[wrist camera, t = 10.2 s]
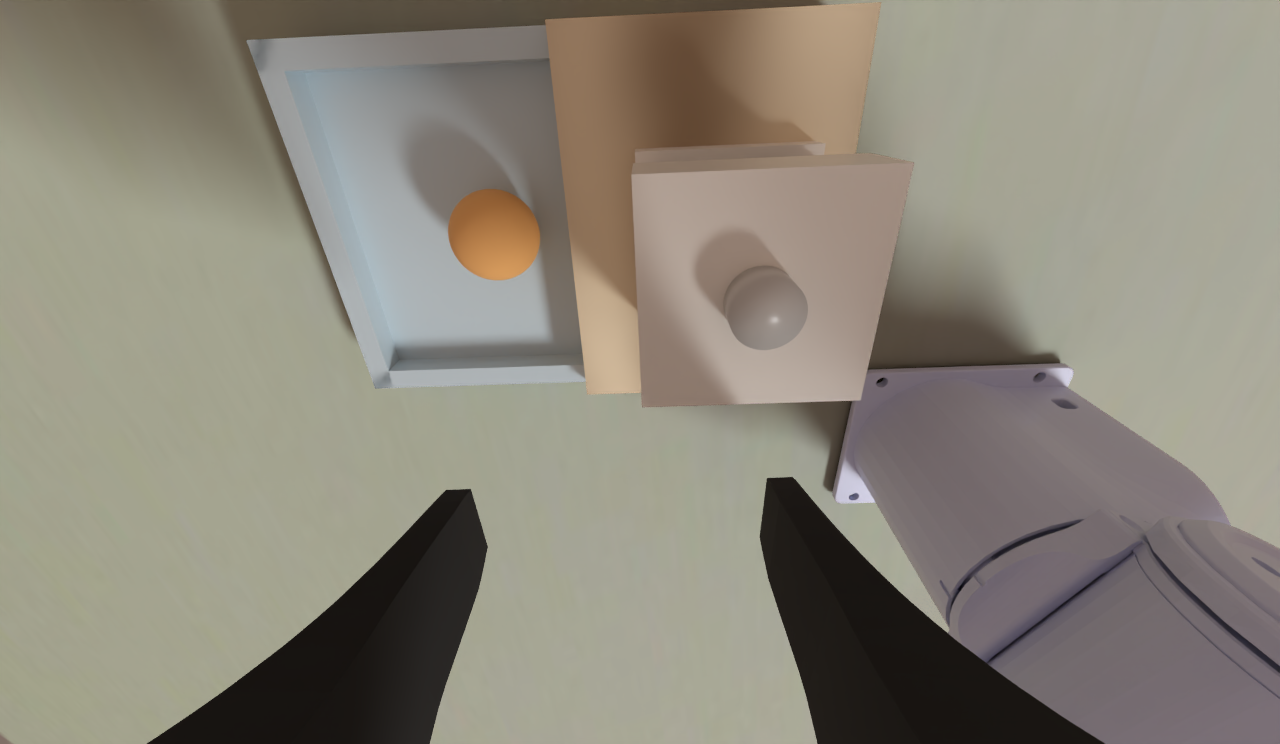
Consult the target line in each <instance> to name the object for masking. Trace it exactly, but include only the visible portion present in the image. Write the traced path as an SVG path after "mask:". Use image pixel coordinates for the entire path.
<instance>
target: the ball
mask: <svg viewBox="0 0 1280 744" xmlns="http://www.w3.org/2000/svg"><path fill="white" fill-rule="evenodd" d="M448 237H449V242H450V246H451V249H452V251H453V253H454V255H455V256H456V258H457V259H458V261H459V262H460V263H461V264H462V265H463V266H464V267H465V268H466V269H467V270H469V271H470V272H472V273H473V274H475V275H477V276H479V277H481V278H485V279H489V280H507V279H511V278H514V277H516V276H518V275H520V274H522V273H523V272H524V271H525V270H527V269H528V268H529V267H530V266H531V264H532V263H533V261H534V260H535V258H536V256H537V253H538V250H539V246H540V231H539V226H538V223H537V220H536V218H535V216H534V214H533V212H532V211H531V210H530V208H529V207H528V206H527V205H526V204H525V203H524V202H523V201H522V200H521V199H519V198H518V197H517V196H515V195H513V194H511V193H509V192H506V191H503V190H498V189H483V190H478V191H475V192H472V193H471V194H469V195H467V196H465V197H464V198H463V199H462V200H461V201H460V202H459V203H458V204H457V205H456V207H455V208H454V210H453V212H452V214H451V216H450V220H449V225H448Z"/></svg>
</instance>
